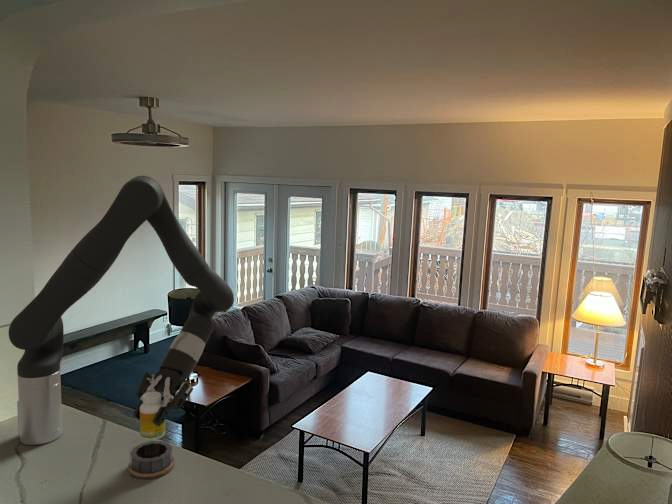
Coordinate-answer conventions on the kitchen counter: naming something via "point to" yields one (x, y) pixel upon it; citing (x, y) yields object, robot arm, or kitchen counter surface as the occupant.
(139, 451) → the collar mount
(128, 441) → the kitchen counter surface
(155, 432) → the supplement bottle
